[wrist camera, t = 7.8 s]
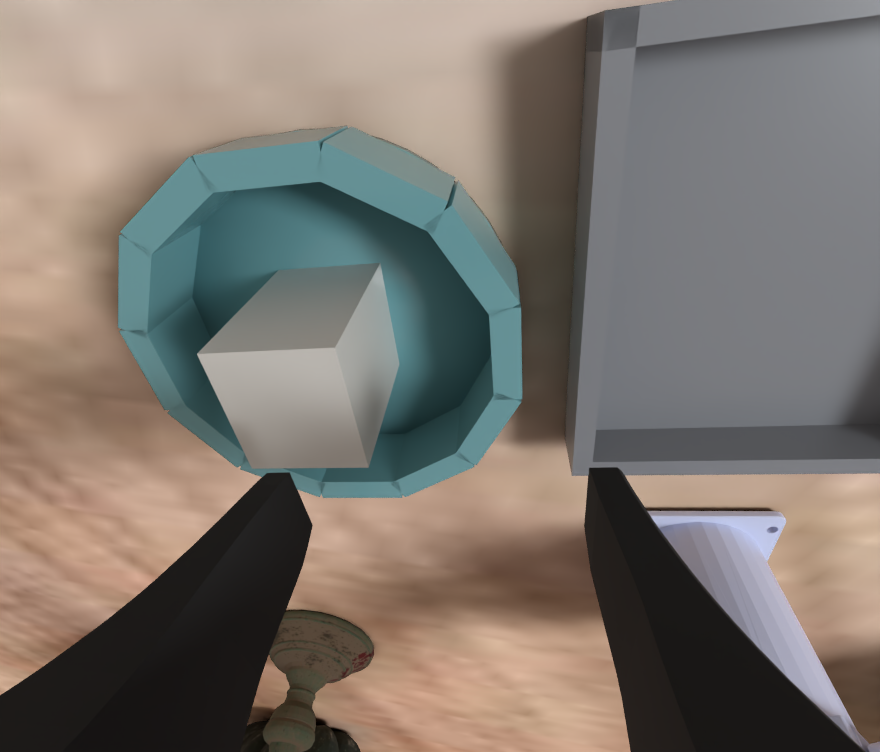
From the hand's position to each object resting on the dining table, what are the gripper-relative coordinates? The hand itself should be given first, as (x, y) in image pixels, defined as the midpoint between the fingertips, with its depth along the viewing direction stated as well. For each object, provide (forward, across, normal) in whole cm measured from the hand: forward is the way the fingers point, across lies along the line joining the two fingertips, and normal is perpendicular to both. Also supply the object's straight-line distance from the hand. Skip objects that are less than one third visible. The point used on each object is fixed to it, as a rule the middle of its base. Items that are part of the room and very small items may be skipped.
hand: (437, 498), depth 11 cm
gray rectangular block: (+9, +5, -1) cm, 10 cm away
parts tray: (+9, -11, -1) cm, 15 cm away
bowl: (+9, +5, 0) cm, 10 cm away
